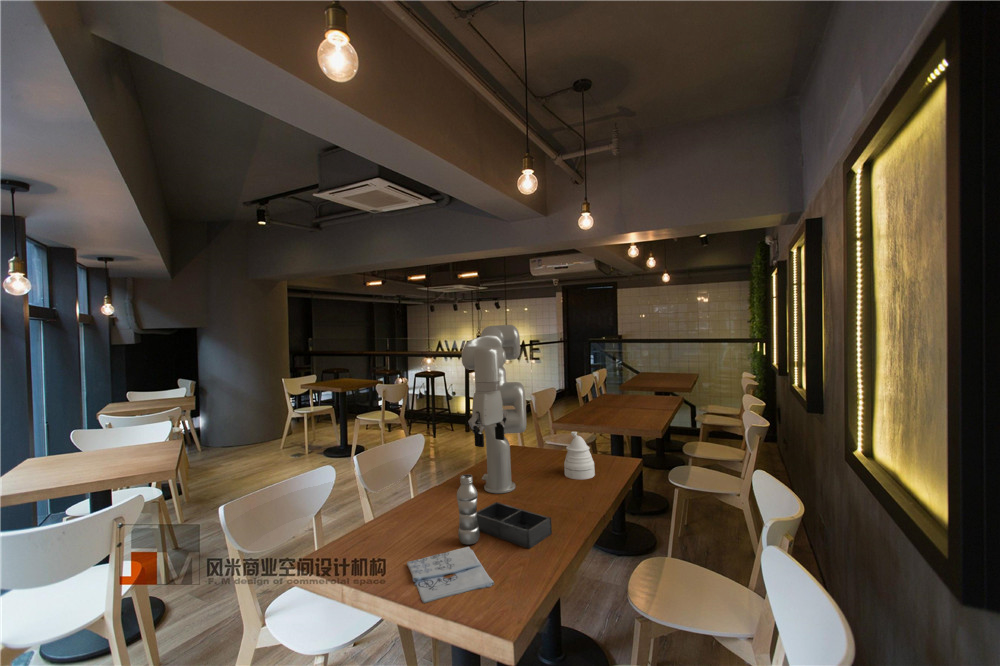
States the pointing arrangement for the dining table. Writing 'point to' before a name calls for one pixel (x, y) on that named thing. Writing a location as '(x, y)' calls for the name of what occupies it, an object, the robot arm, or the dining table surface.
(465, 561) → the folded bicycle print cloth
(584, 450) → the honey pot
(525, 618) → the dining table surface
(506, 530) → the divided tray
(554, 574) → the dining table surface
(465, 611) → the dining table surface
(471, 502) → the grey stacked bottle
